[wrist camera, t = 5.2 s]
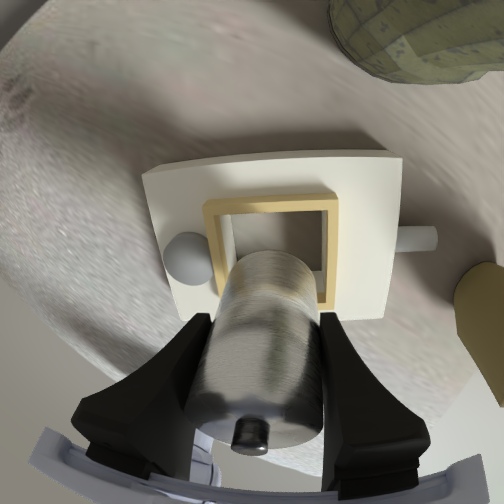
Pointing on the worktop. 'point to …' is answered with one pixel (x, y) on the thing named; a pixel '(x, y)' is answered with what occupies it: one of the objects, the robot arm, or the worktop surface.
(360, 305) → the white holder tray
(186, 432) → the robot arm
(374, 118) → the worktop surface
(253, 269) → the spout can
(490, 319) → the squeeze bottle
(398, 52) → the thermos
